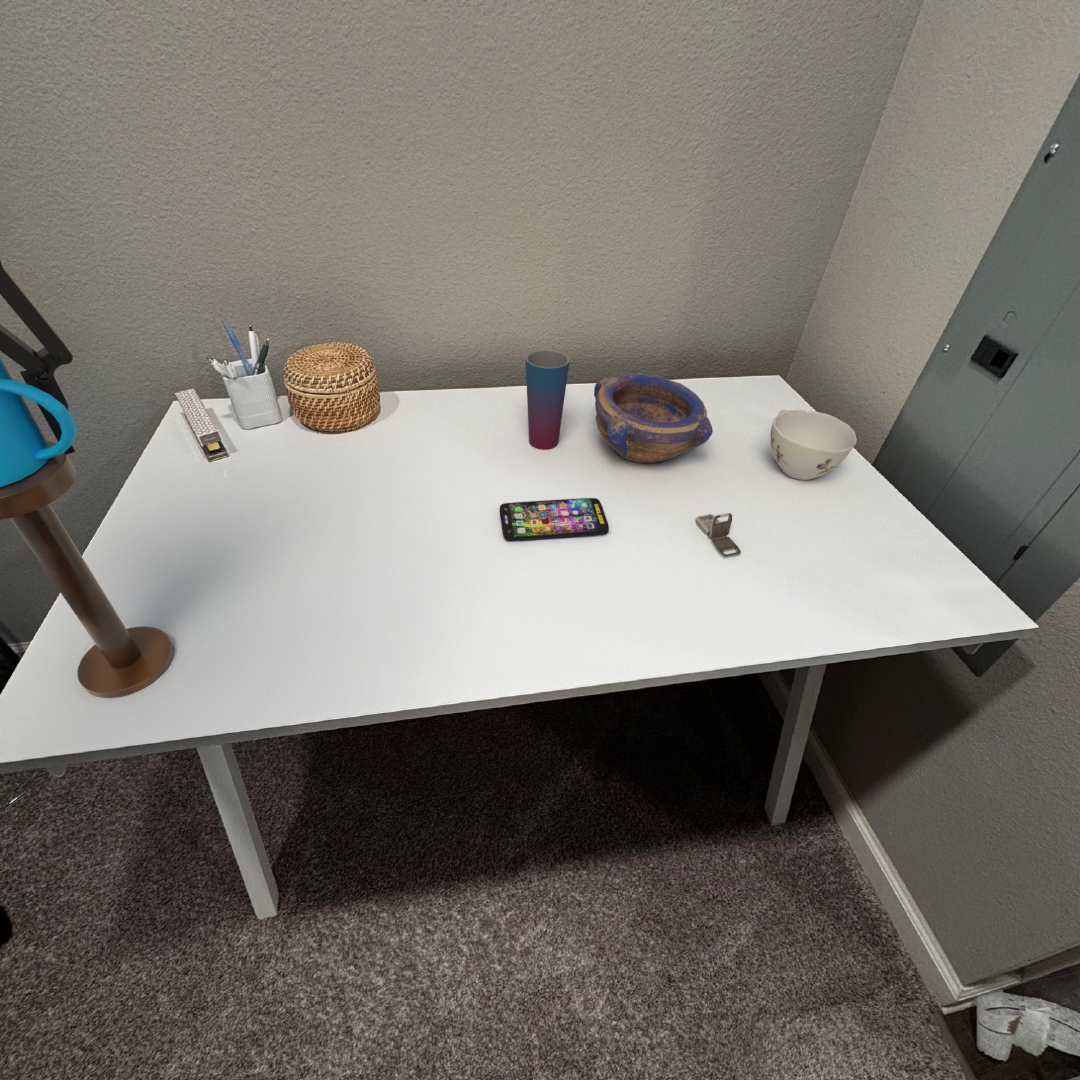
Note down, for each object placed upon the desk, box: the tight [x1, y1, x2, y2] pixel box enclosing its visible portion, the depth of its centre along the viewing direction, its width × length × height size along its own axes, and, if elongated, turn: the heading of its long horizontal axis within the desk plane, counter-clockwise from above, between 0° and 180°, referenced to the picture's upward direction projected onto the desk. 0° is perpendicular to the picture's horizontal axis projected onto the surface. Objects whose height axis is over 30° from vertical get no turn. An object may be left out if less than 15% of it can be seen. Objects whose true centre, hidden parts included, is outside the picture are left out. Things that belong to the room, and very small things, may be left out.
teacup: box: [770, 408, 858, 481], centre depth 100 cm, size 15×12×8 cm
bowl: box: [593, 373, 714, 464], centre depth 102 cm, size 18×18×10 cm
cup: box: [525, 348, 571, 451], centre depth 101 cm, size 7×7×15 cm
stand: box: [0, 440, 174, 699], centre depth 60 cm, size 9×9×26 cm
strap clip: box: [695, 512, 742, 558], centre depth 87 cm, size 8×3×4 cm, turn 17°
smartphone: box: [499, 497, 610, 542], centre depth 89 cm, size 8×1×15 cm
